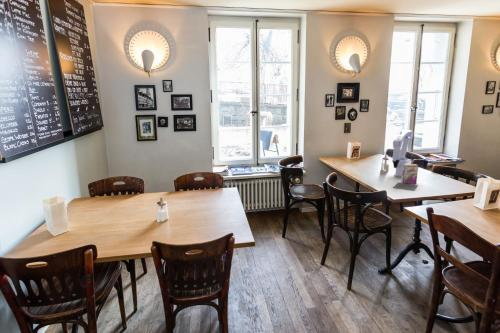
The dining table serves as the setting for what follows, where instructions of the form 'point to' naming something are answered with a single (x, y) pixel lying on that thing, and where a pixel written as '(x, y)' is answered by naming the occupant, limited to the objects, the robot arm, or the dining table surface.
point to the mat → (405, 186)
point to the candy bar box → (409, 173)
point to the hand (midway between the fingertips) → (395, 167)
